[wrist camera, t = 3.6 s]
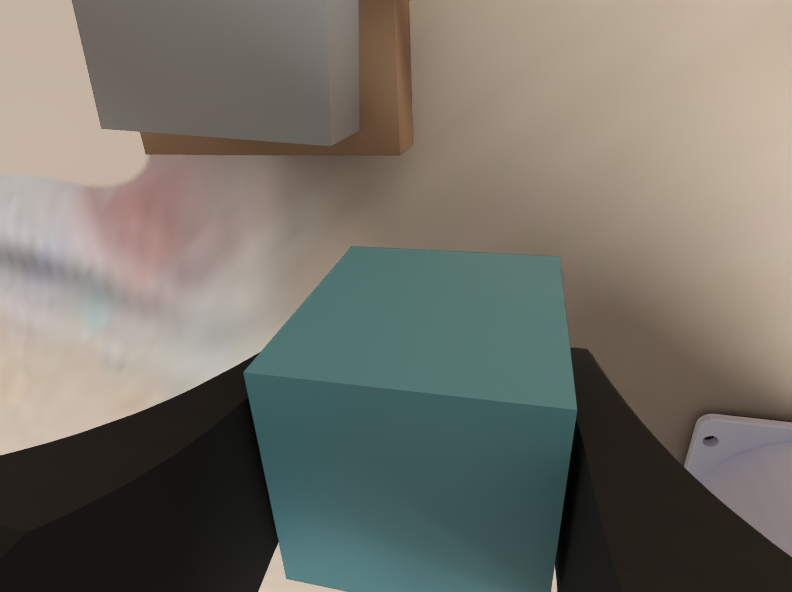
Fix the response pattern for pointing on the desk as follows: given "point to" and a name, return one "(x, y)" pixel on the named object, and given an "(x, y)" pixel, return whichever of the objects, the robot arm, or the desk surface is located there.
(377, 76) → the walnut slab
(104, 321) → the desk surface
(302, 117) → the gray slab
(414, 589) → the teal block
